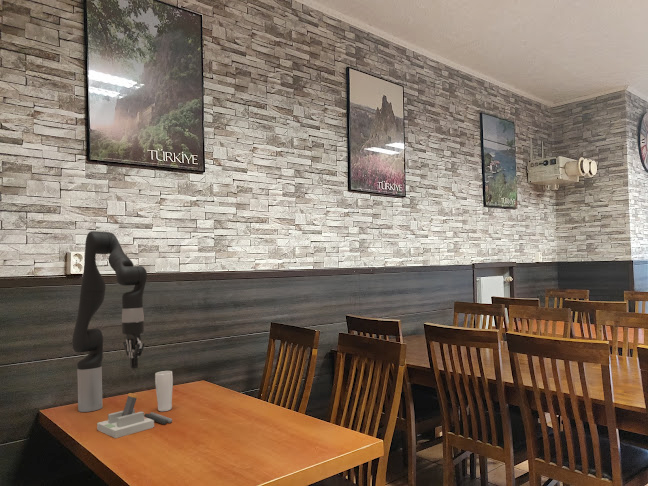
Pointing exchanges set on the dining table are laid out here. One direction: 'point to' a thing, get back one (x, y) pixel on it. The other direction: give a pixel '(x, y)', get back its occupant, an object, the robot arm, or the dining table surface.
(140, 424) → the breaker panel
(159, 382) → the drinking glass
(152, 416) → the cable bundle
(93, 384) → the robot arm
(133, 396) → the lever
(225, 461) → the dining table surface
